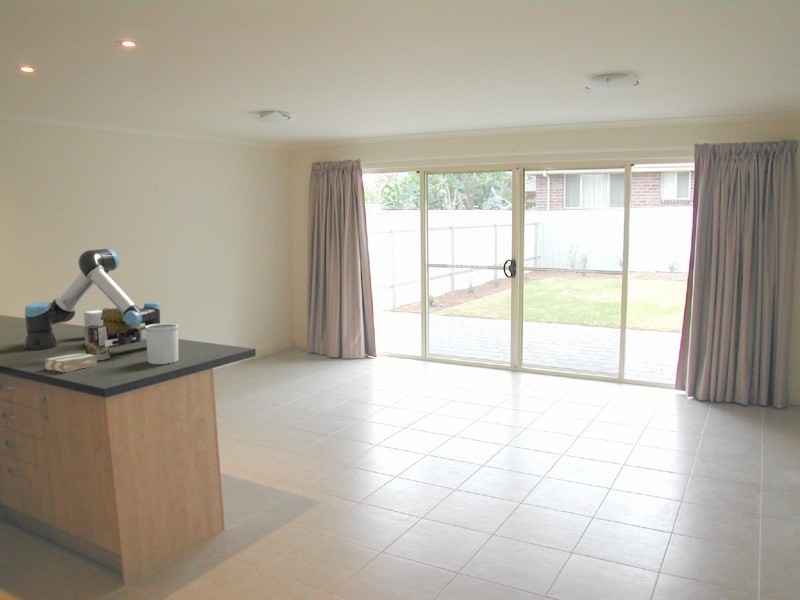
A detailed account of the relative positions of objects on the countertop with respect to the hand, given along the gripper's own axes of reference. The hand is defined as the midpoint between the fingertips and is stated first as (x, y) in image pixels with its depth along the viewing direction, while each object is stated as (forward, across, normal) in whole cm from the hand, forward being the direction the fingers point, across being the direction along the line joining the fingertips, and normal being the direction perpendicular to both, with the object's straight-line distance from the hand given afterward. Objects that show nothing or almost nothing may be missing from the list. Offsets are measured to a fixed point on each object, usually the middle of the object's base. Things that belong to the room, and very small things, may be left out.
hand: (97, 342), depth 297 cm
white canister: (-29, +51, -9) cm, 59 cm away
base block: (+16, -6, -8) cm, 19 cm away
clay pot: (-31, +27, -9) cm, 42 cm away
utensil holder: (-15, -30, -9) cm, 35 cm away
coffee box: (0, 0, -9) cm, 9 cm away
